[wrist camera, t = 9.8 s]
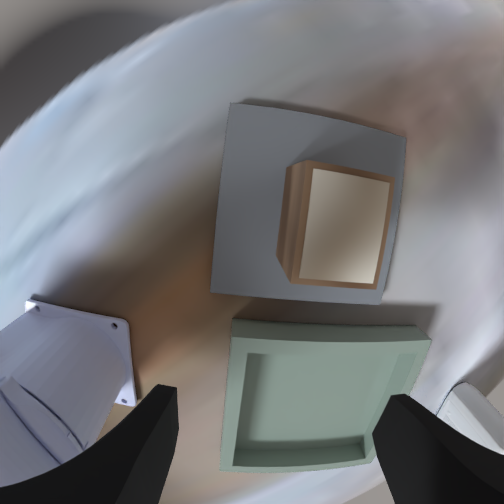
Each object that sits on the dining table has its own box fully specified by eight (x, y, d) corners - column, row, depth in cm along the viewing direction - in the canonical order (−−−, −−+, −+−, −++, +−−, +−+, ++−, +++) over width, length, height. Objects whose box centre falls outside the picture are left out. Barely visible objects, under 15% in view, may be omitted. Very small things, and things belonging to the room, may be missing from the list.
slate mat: (211, 286, 18) (210, 292, 17) (230, 107, 16) (230, 102, 15) (373, 299, 19) (379, 304, 18) (398, 139, 16) (406, 138, 15)
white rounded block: (438, 442, 24) (481, 507, 12) (412, 450, 24) (453, 523, 12) (474, 377, 22) (538, 442, 10) (448, 384, 22) (515, 460, 10)
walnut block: (275, 255, 17) (290, 284, 12) (286, 167, 16) (307, 159, 11) (340, 261, 17) (377, 290, 12) (352, 178, 16) (396, 177, 11)
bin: (220, 450, 22) (219, 471, 19) (232, 318, 19) (232, 336, 16) (363, 445, 23) (370, 462, 20) (415, 325, 20) (431, 339, 17)
